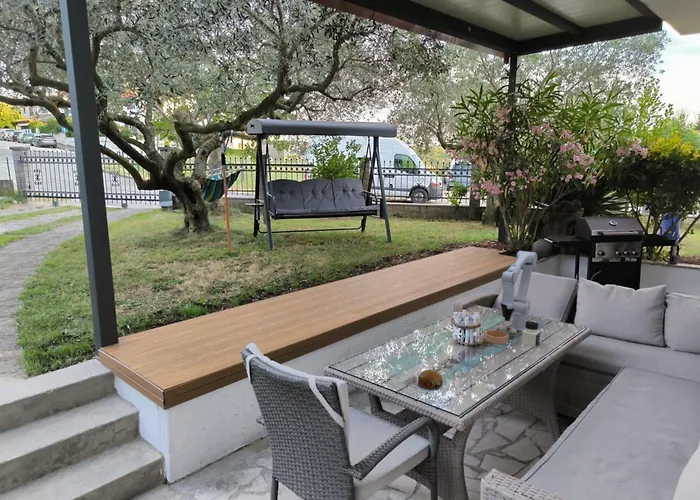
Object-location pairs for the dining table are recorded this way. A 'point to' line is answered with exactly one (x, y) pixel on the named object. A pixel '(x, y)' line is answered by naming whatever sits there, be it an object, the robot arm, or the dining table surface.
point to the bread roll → (430, 379)
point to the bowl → (496, 336)
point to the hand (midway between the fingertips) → (506, 318)
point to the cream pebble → (502, 328)
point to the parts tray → (513, 335)
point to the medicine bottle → (531, 334)
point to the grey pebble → (512, 331)
